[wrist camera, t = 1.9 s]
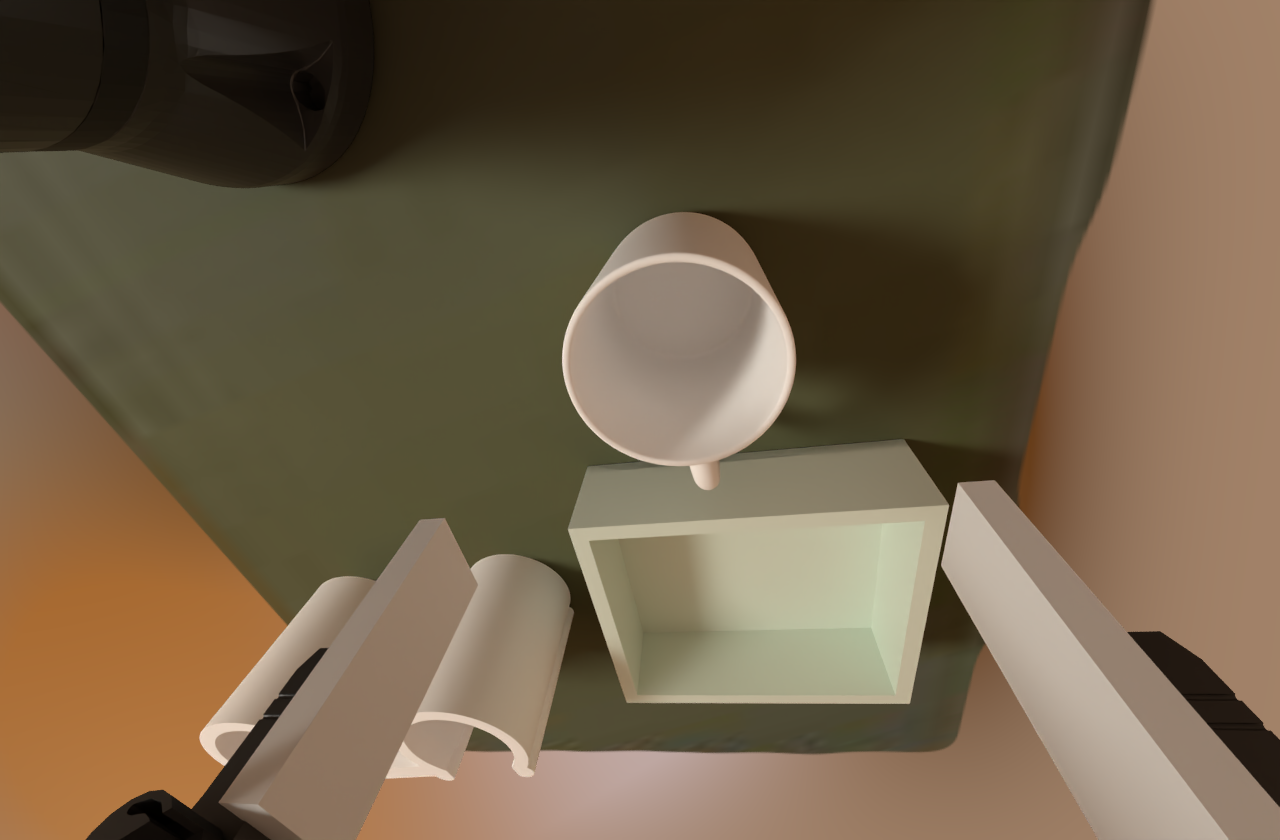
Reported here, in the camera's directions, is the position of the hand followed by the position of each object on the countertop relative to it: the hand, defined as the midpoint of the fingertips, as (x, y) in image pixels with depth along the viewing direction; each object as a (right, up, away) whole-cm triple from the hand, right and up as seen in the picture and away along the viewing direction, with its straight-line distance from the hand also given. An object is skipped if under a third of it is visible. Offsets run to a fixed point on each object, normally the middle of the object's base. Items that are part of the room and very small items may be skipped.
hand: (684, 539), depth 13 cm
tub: (+7, -7, +22) cm, 24 cm away
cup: (+2, +9, +14) cm, 17 cm away
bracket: (-19, -13, +29) cm, 37 cm away
